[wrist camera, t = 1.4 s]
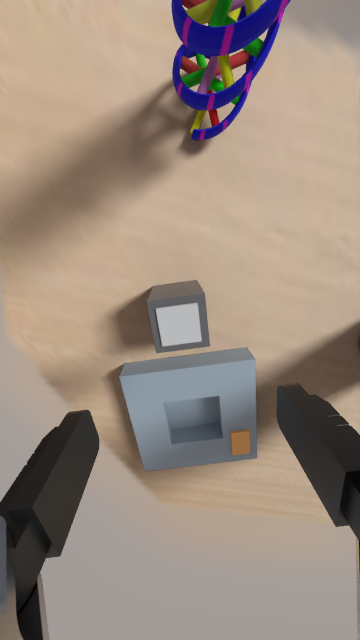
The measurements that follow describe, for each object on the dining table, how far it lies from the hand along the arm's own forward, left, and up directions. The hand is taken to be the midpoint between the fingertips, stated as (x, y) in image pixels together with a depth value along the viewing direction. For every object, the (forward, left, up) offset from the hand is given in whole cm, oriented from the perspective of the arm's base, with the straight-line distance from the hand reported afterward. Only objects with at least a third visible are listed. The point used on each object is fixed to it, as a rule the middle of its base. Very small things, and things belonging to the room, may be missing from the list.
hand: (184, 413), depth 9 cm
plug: (0, 0, -18) cm, 18 cm away
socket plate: (0, +15, -17) cm, 23 cm away
